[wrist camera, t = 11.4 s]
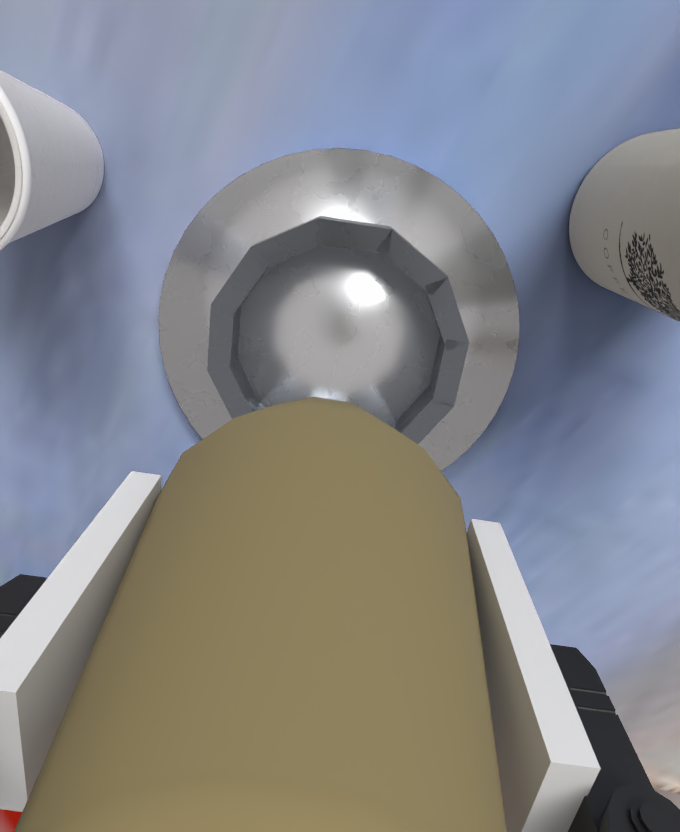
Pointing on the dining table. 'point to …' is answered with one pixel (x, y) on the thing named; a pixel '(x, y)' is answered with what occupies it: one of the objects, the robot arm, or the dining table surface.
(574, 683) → the robot arm
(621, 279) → the travel mug
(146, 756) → the squeeze bottle
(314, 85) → the dining table surface
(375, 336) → the rosette plate
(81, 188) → the dixie cup
